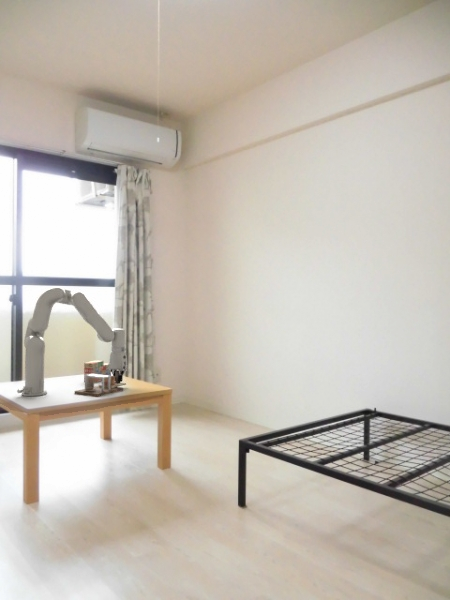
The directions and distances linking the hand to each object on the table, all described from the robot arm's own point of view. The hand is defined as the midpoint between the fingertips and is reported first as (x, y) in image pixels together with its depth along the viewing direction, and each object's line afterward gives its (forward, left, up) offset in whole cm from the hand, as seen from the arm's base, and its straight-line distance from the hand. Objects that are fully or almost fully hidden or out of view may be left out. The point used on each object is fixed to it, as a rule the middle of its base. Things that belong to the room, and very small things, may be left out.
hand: (117, 381), depth 276 cm
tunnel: (-17, 0, -2) cm, 17 cm away
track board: (-15, 0, -4) cm, 16 cm away
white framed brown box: (-4, 0, -2) cm, 5 cm away
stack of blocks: (+14, +27, -4) cm, 31 cm away
